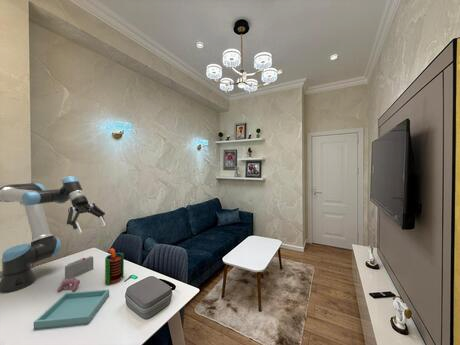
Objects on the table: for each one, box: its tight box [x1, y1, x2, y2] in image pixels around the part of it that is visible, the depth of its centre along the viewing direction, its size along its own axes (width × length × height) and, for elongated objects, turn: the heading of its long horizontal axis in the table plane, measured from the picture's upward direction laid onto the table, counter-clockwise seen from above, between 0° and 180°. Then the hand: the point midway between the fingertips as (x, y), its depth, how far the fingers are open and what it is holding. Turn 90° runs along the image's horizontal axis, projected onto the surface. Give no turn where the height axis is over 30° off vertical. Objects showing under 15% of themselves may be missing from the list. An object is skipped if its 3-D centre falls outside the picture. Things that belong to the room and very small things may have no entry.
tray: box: [33, 288, 110, 331], centre depth 95 cm, size 22×20×4 cm
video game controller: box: [56, 277, 81, 293], centre depth 112 cm, size 10×5×7 cm, turn 92°
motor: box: [104, 248, 125, 286], centre depth 121 cm, size 10×9×20 cm
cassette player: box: [64, 255, 94, 280], centre depth 128 cm, size 16×3×10 cm, turn 157°
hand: (92, 229), depth 111 cm, fingers open, 13 cm apart
